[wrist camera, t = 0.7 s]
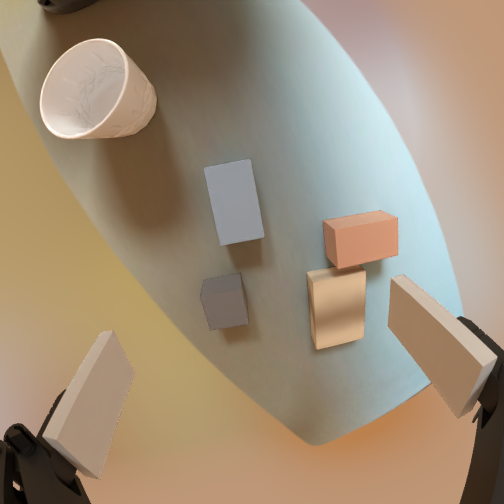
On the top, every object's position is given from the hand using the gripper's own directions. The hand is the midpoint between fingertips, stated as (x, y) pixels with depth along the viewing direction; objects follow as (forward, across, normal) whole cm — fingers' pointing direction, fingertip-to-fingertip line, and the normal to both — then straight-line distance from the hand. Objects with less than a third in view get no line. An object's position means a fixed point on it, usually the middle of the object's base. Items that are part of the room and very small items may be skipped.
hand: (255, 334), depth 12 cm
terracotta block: (+18, +12, -2) cm, 21 cm away
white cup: (+18, -9, +16) cm, 25 cm away
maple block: (+18, +9, -10) cm, 23 cm away
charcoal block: (+18, -3, -6) cm, 19 cm away
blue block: (+18, 0, +4) cm, 18 cm away
